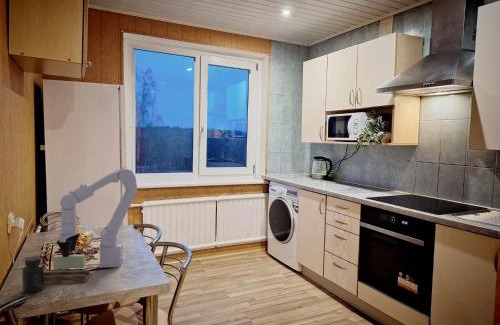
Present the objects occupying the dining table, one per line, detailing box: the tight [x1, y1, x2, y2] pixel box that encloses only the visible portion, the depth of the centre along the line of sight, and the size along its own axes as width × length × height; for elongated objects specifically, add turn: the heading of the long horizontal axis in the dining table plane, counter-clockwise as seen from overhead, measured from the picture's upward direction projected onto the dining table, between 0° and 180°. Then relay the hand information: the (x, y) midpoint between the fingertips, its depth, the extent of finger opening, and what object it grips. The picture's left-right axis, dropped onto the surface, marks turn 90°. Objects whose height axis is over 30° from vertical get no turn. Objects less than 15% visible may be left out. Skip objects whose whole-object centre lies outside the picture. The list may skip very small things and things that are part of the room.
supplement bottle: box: [21, 256, 45, 295], centre depth 127 cm, size 7×7×12 cm
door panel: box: [52, 254, 86, 269], centre depth 147 cm, size 12×2×6 cm, turn 99°
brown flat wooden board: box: [44, 269, 93, 285], centre depth 137 cm, size 18×8×2 cm, turn 99°
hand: (69, 253), depth 147 cm, fingers open, 7 cm apart
